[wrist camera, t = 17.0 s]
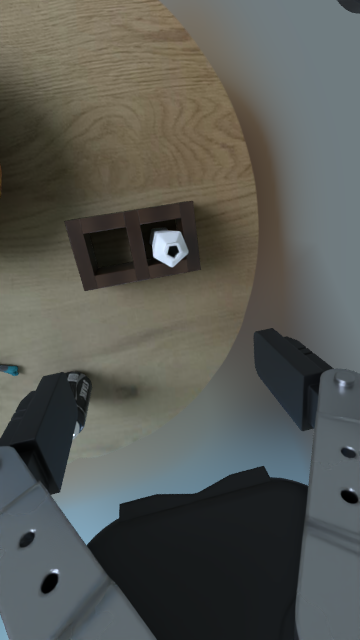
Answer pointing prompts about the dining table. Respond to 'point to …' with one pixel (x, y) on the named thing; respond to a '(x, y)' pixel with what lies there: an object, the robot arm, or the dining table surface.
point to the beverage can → (80, 397)
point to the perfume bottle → (168, 246)
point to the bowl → (0, 179)
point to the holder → (132, 245)
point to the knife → (9, 369)
